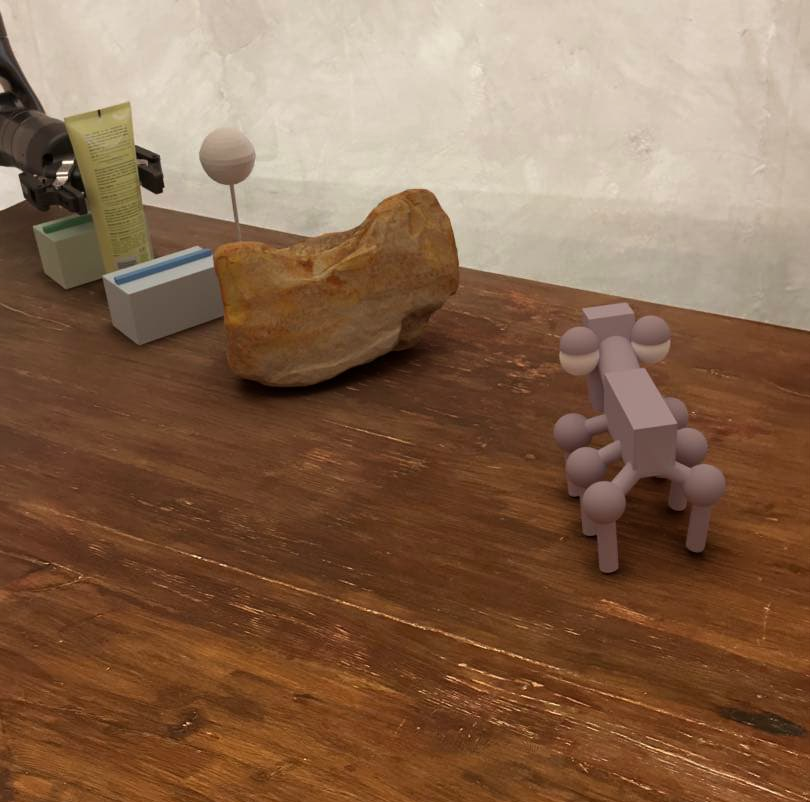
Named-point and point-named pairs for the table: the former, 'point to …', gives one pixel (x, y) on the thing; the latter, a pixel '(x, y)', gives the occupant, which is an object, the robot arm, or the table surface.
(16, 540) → the table surface
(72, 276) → the pale green box
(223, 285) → the orange sandstone rock
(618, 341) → the mauve legged toy figure
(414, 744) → the table surface
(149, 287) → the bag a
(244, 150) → the lollipop
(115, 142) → the tube
